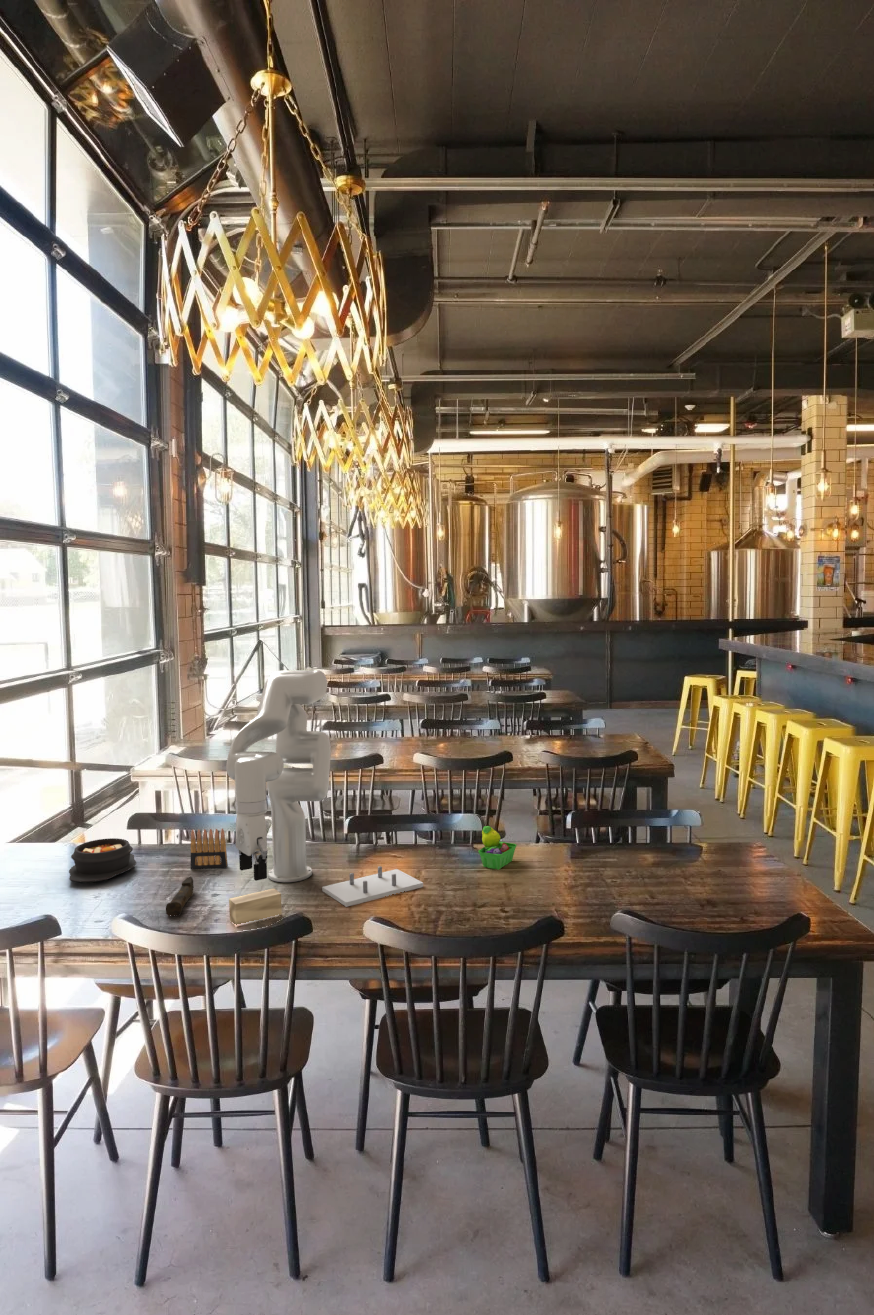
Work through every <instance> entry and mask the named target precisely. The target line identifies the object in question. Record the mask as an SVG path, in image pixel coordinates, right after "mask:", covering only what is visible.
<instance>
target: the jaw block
mask: <svg viewBox="0 0 874 1315" xmlns="http://www.w3.org/2000/svg"><path fill="white" fill-rule="evenodd" d="M281 893H282V892H280V891H278V890H277V889H276V888H269V889H266V890H261V891H256V892H252V893H248V894H243V895H240V896H235V897H231V898H228V904H229V905H228V908H229V909H228V910H229V922H230V921H231V922H233V923H234V924H236V925H237V924H241V923H246V922H249V921H254V920H259V919H263V918H267V917H270V916H275V915H278V914H279V915H281V914H283V913H282V912H283V911H282V894H281ZM231 922H230V923H231Z"/></svg>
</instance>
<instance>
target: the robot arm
mask: <svg viewBox="0 0 874 1315" xmlns="http://www.w3.org/2000/svg"><path fill="white" fill-rule="evenodd" d="M327 690H328V679H327V677H326V675H325V673H324V672H323V671H322V670H319V669H318V670H317V669H314V670H313V669H309V670H307V669H306V670H305V669H304V670H302V669H301V670H300V669H299V670H297V669H293V670H292V669H291V670H289V669H287V670H284V669H283V670H277V671H274V672H271V674H270V675H269V677H268V678H267V679H266V680H265V683H264V686H263V690H262V694H261V697H260V701H259V704H258V708H257V712H256V716H255V718H253V719H252V720H251V721H248V723H246V724H245V725H244V726H243V727H242V728H241V729H240V730H239V731H238V732H237V733H236V734H235V736H234V737H233V739H232V741H231V744H230V747H229V752H228V754H227V759H226V767H225V768H226V774H227V776H228V777H229V778H230V779H231V780H232V781H233V780H234V781H235V782H234V784H235V786H234V788H235V789H234V790H235V814H236V821H235V847H236V849H237V851H238V854H239V855H238V858H239V860H238V861H239V870H240V871H242V872H243V871H247V870H252V869H253V879H254V880H255V881H261V880H266V879H267V878H268V879H269V880H270V881H272V882H277V883H294V882H300V881H303V880H306V879H308V878H310V877H311V876H312V875H313V870H312V867H310V866H308V865H307V864H308V863H307V843H306V842H307V840H306V835H307V834H306V815H305V812H304V810H303V808H302V806H301V805H300V804H299V802H322V801H323V800H325V799H326V797H327V795H328V792H329V786H330V785H329V784H330V770H331V754H332V751H331V748H332V747H331V740H330V738H329V736H328V734H327V733H325V732H323V731H320V730H319V731H317V730H309V731H308V729H307V727H308V714H307V712H306V710H305V709H304V708H303V705H311V704H314V703H315V704H316V703H317V702H318V701H320V700H322V699H323V698H324V696H325V695H326V693H327ZM275 735H276V742H275V743H276V744H275V752H274V751H247V750H248V749H249V748H250V747H251V746H253V745H254V744H256V743H258V742H260V741H263V740H265V739H268V738H270V737H272V736H275ZM284 764H287V765H288V764H290V765H291V764H292V765H293V764H294V765H302V764H303V765H312V767H284ZM267 793H268V797H269V804H270V811H271V813H270V814H271V836H272V837H271V838H272V842H271V843H272V862H273V865H272V869H270V870H269V871H268V867H267V866H268V852H269V849H268V834H267V824H266V815H265V814H266V813H267V812H268V809H267V807H268V806H267ZM253 861H254V863H253Z"/></svg>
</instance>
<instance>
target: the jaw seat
mask: <svg viewBox="0 0 874 1315" xmlns="http://www.w3.org/2000/svg"><path fill="white" fill-rule="evenodd" d="M321 888H322V890H321V891H322V892H323V893H325V894H326V895H327V896H329V897H331V898H332V899H334V900H335V901H337V902H338V903H340V904H341V905H343V906H344V907H345V908H346V907H347V908H348V907H352V906H355V905H359V904H363V903H366V902H370V901H374V900H378V899H383V898H386V897H389V895H390V896H393V895H392V894H394V895H397V894H396V893H398V894H401V893H400V892H402V893H405V892H408V891H409V892H410V891H413V890H417V889H421V888H424V882H422V881H421V880H419V879H417V878H415V877H413V876H411V875H409V874H407V873H405V872H403V871H402V870H400V869H398V868H395V869H391V870H387V871H383V866H380V865H379V866H377V873H374V874H370V875H366V876H363V877H357V878H355V873H353V872H351V873H350V872H349V880H346V881H342V882H336V883H332V884H329V885H324V886H322V887H321ZM404 891H405V892H404ZM385 896H386V897H385Z"/></svg>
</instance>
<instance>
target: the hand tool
mask: <svg viewBox="0 0 874 1315" xmlns="http://www.w3.org/2000/svg"><path fill="white" fill-rule="evenodd" d="M193 895H194V878H193V877H192V876H188V877H186V878H185V879H184V880H183V881H182V882H181V887H180V889H179V890H178V891H177V892H176V894H175V895H174V896H173V898H172V899H171V901H170V902H168V903H167V904H166V905H165V914H166V915H167V916H168V917H179V916H180V915H182V911H183V908H184V907H185V905H186V904H187V902H188V900H189V899H190V898H192V897H193ZM170 915H171V916H170ZM174 915H175V916H174ZM176 915H177V916H176Z"/></svg>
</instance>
